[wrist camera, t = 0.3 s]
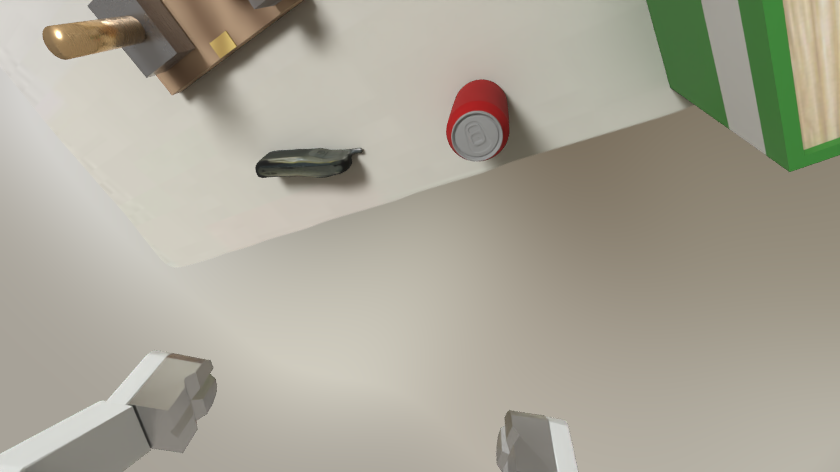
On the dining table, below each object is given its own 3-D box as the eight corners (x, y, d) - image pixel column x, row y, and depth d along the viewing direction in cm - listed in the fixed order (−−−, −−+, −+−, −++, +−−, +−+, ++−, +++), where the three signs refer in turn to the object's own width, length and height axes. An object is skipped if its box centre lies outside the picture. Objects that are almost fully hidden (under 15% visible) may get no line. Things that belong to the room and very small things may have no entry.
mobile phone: (257, 182, 59) (355, 177, 56) (249, 162, 58) (350, 156, 54) (273, 168, 63) (365, 162, 60) (266, 149, 62) (361, 142, 58)
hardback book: (625, -74, 41) (744, -110, 21) (709, -125, 38) (935, -222, 19) (670, 87, 48) (789, 172, 29) (743, 54, 46) (932, 123, 26)
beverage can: (467, 138, 56) (460, 176, 46) (445, 92, 53) (433, 121, 43) (515, 118, 53) (519, 153, 43) (495, 68, 50) (495, 93, 40)
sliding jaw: (141, -25, 49) (32, -23, 37) (195, 48, 52) (112, 70, 41) (112, 3, 51) (1, 14, 40) (166, 71, 55) (79, 99, 43)
